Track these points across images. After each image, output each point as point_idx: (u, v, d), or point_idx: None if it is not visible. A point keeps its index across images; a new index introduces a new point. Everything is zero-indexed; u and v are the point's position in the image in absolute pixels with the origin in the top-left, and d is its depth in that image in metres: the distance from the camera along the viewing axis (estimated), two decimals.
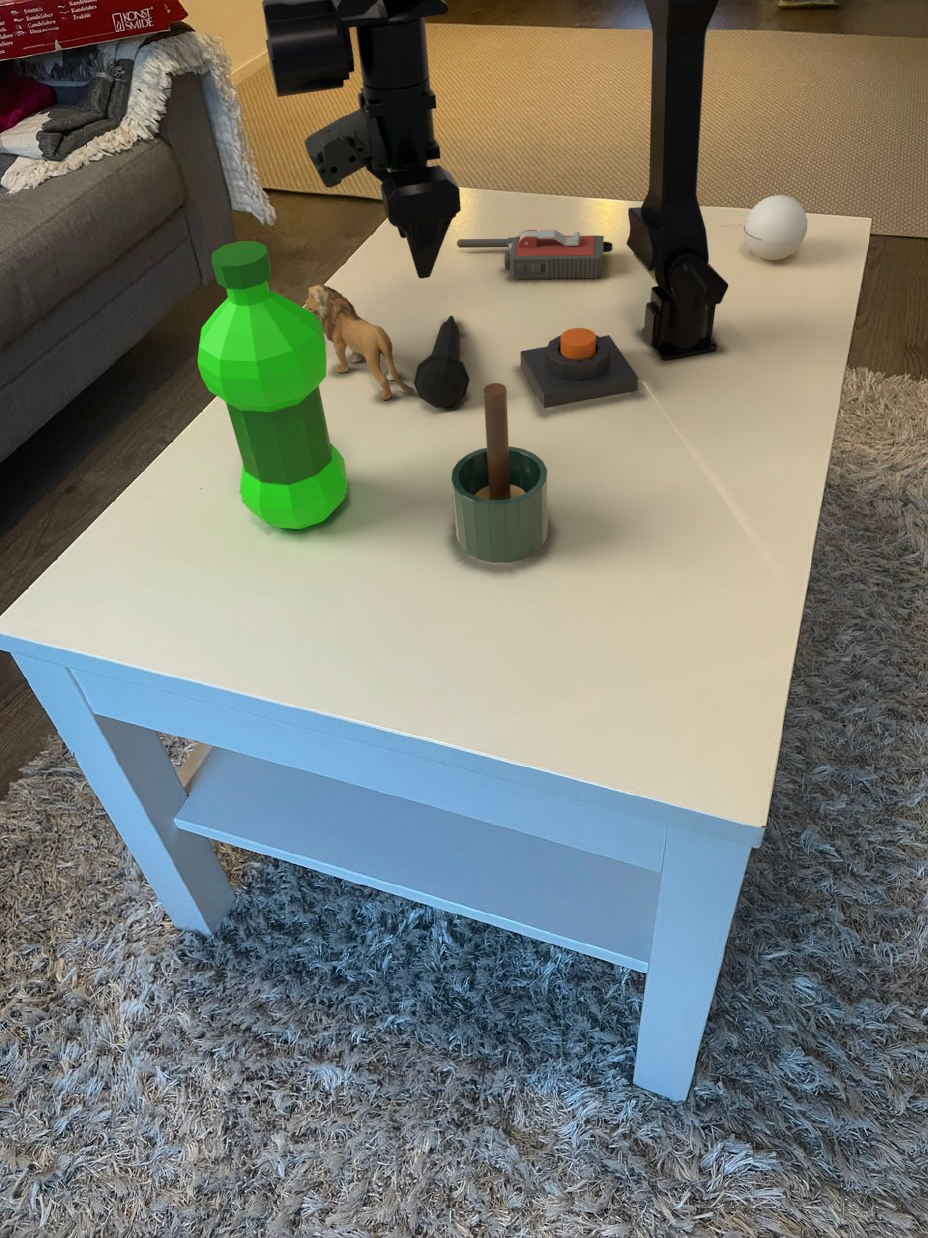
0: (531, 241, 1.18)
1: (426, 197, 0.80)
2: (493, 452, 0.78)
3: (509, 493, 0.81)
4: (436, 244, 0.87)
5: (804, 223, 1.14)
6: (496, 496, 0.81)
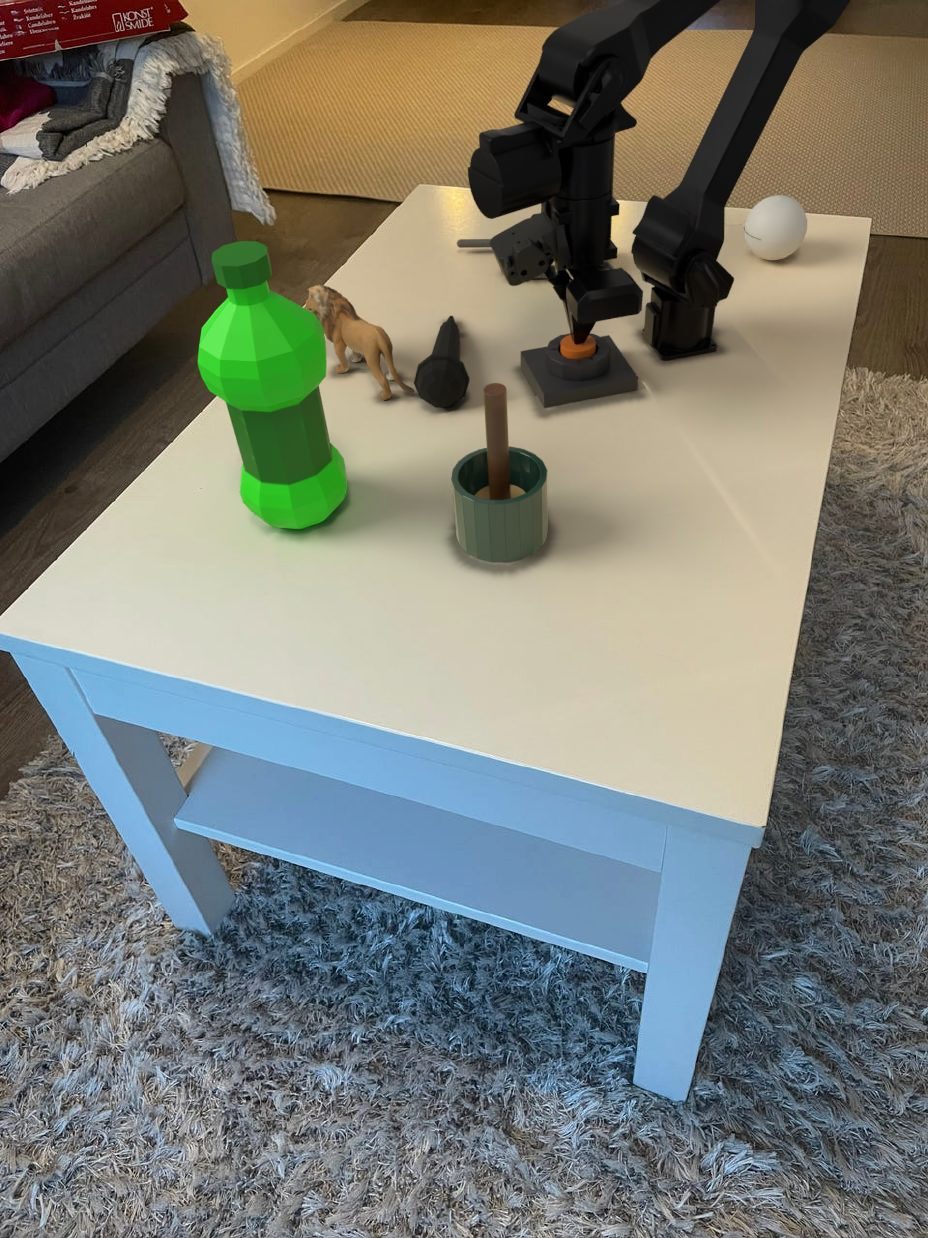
0: None
1: (614, 300, 0.86)
2: (493, 452, 0.78)
3: (509, 493, 0.81)
4: None
5: (804, 223, 1.14)
6: (496, 496, 0.81)
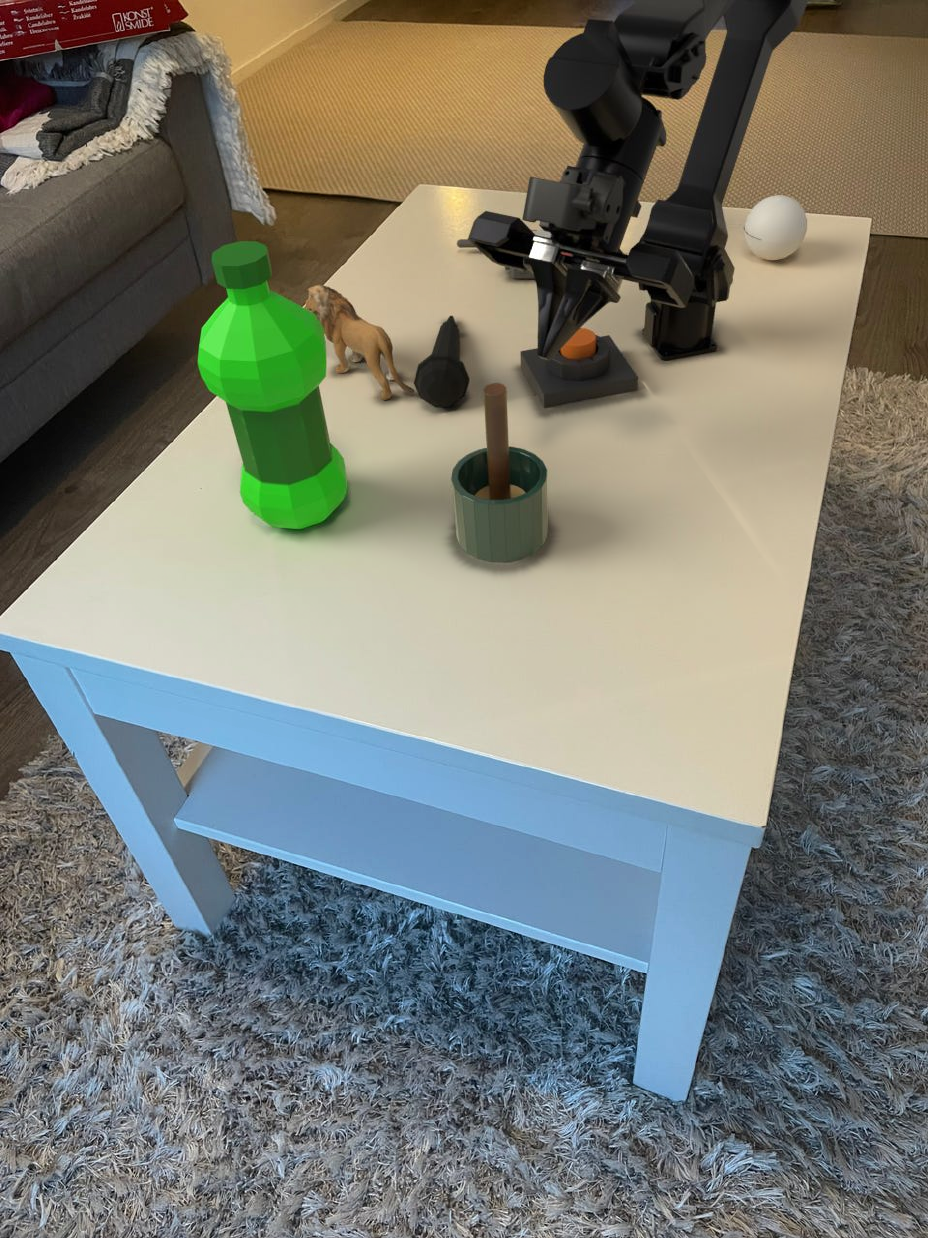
0: None
1: (686, 275, 0.76)
2: (493, 452, 0.78)
3: (509, 493, 0.81)
4: (576, 327, 0.81)
5: (804, 223, 1.14)
6: (496, 496, 0.81)
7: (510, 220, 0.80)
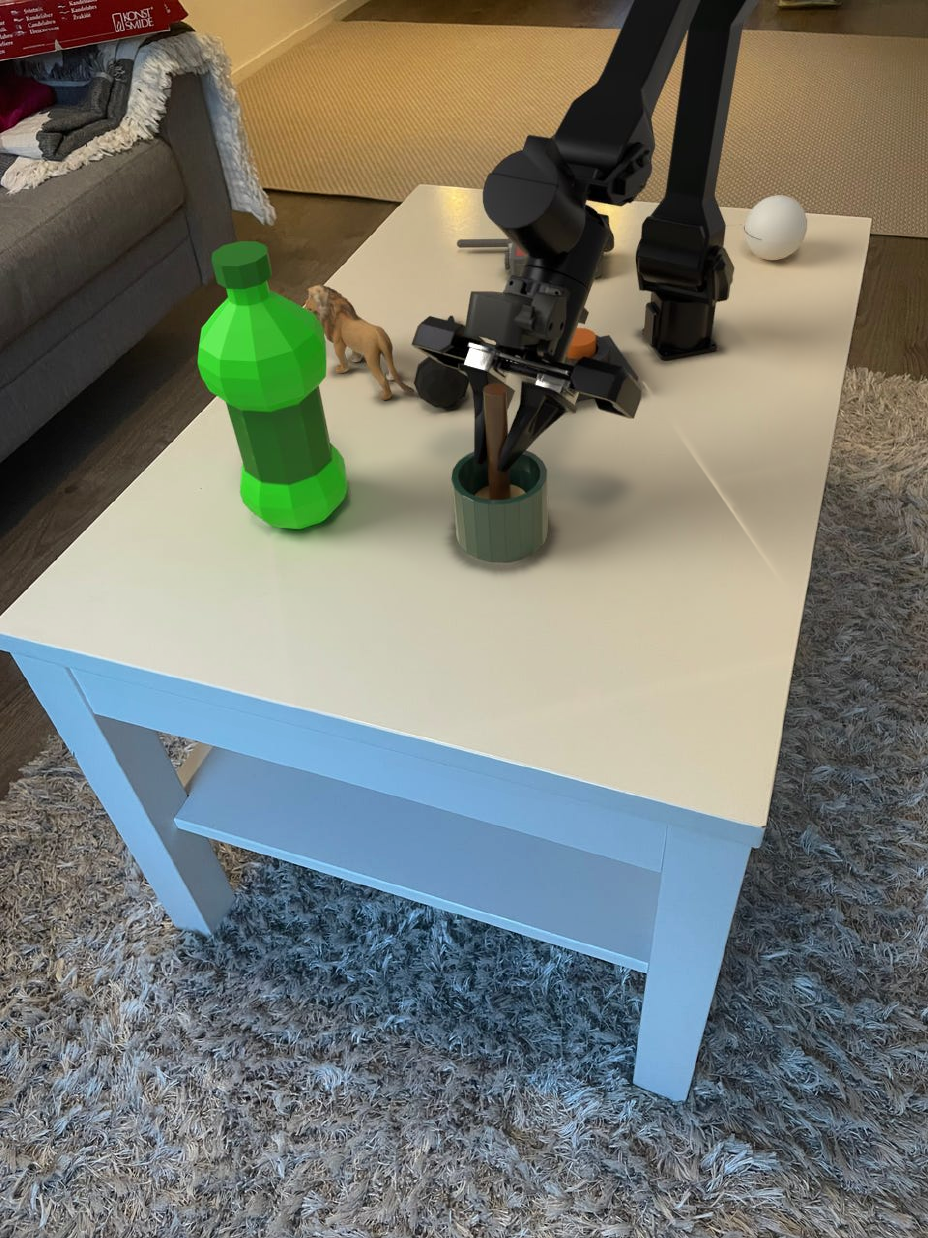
0: None
1: (633, 389, 0.74)
2: (493, 452, 0.78)
3: (509, 493, 0.81)
4: (533, 438, 0.78)
5: (804, 223, 1.14)
6: (496, 496, 0.81)
7: (454, 327, 0.78)
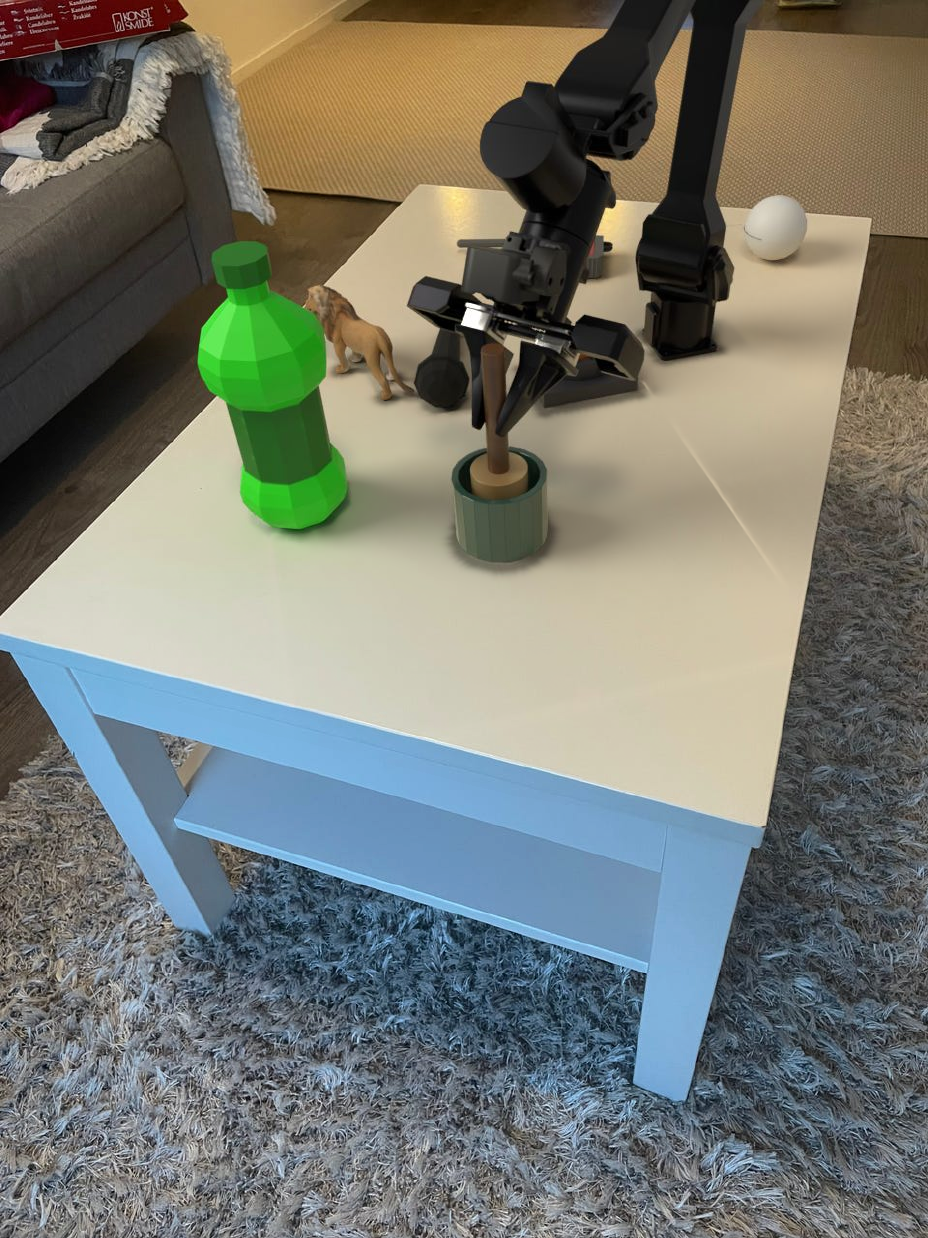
0: None
1: (636, 348, 0.71)
2: (491, 416, 0.75)
3: (508, 460, 0.79)
4: (532, 402, 0.76)
5: (804, 223, 1.14)
6: (494, 463, 0.79)
7: (451, 287, 0.75)
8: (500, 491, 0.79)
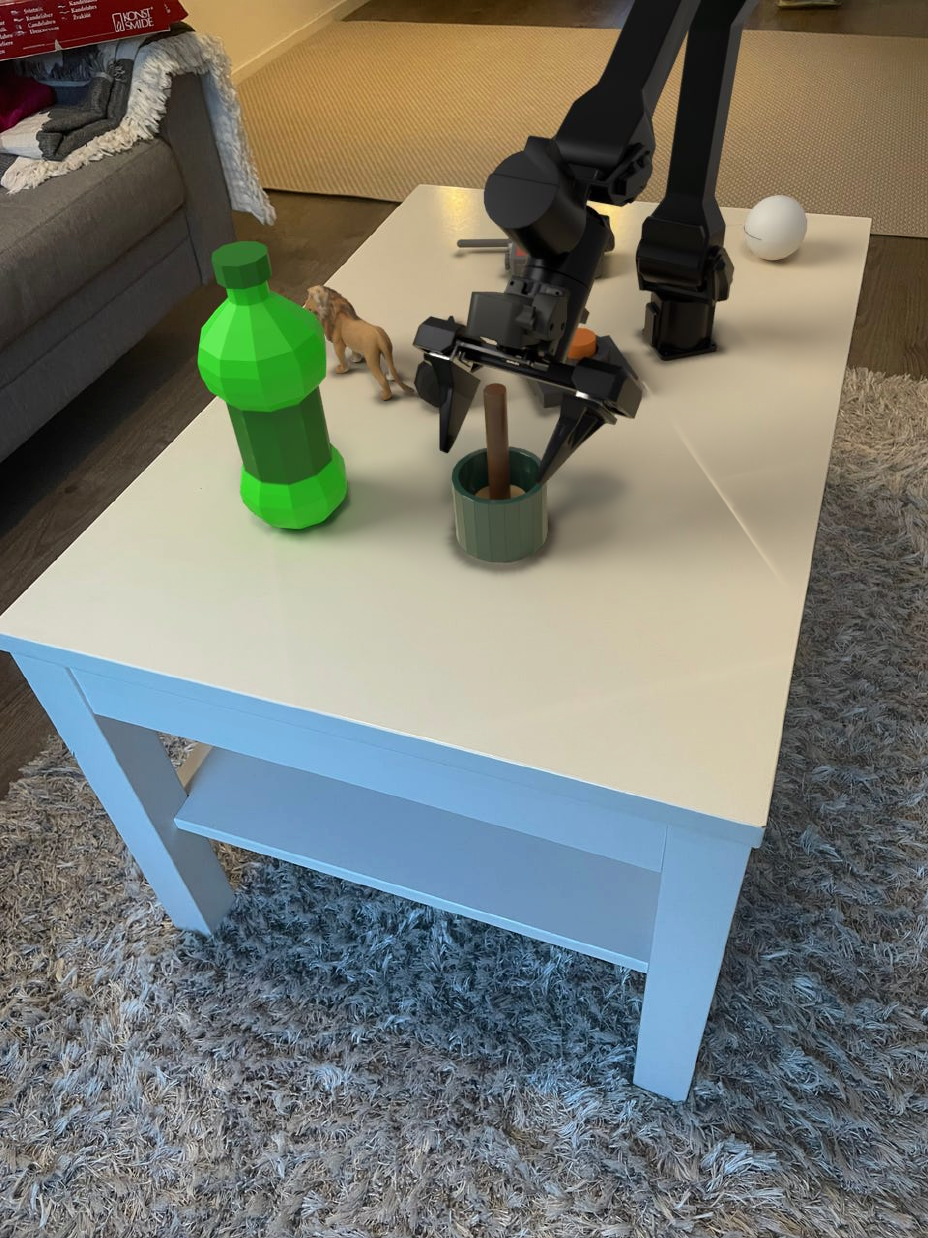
0: None
1: (634, 389, 0.74)
2: (493, 452, 0.78)
3: (509, 493, 0.81)
4: (571, 450, 0.77)
5: (804, 223, 1.14)
6: (496, 496, 0.81)
7: (455, 328, 0.78)
8: None
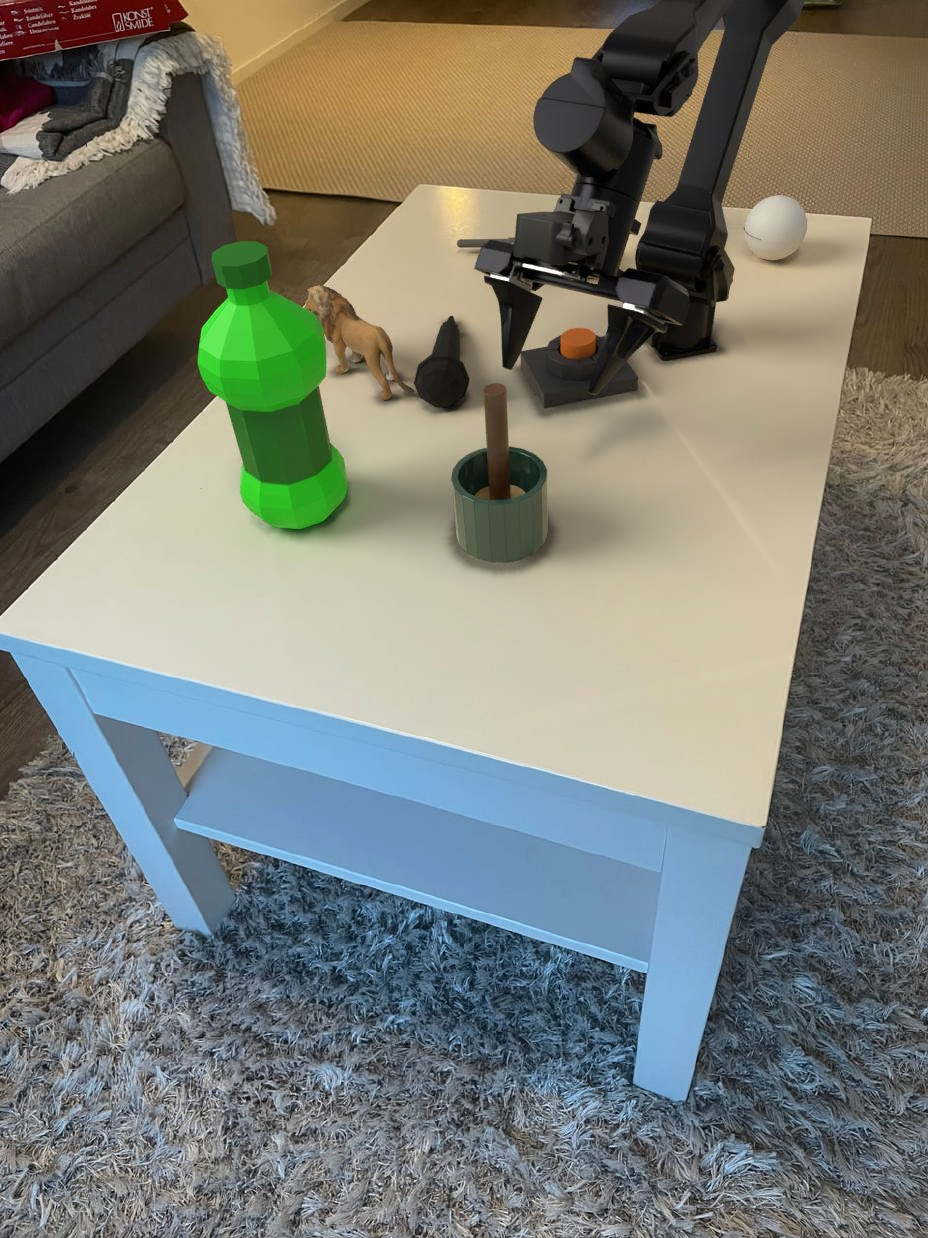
0: None
1: (678, 296, 0.77)
2: (493, 452, 0.78)
3: (509, 493, 0.81)
4: (623, 360, 0.81)
5: (804, 223, 1.14)
6: (496, 496, 0.81)
7: (511, 249, 0.82)
8: None
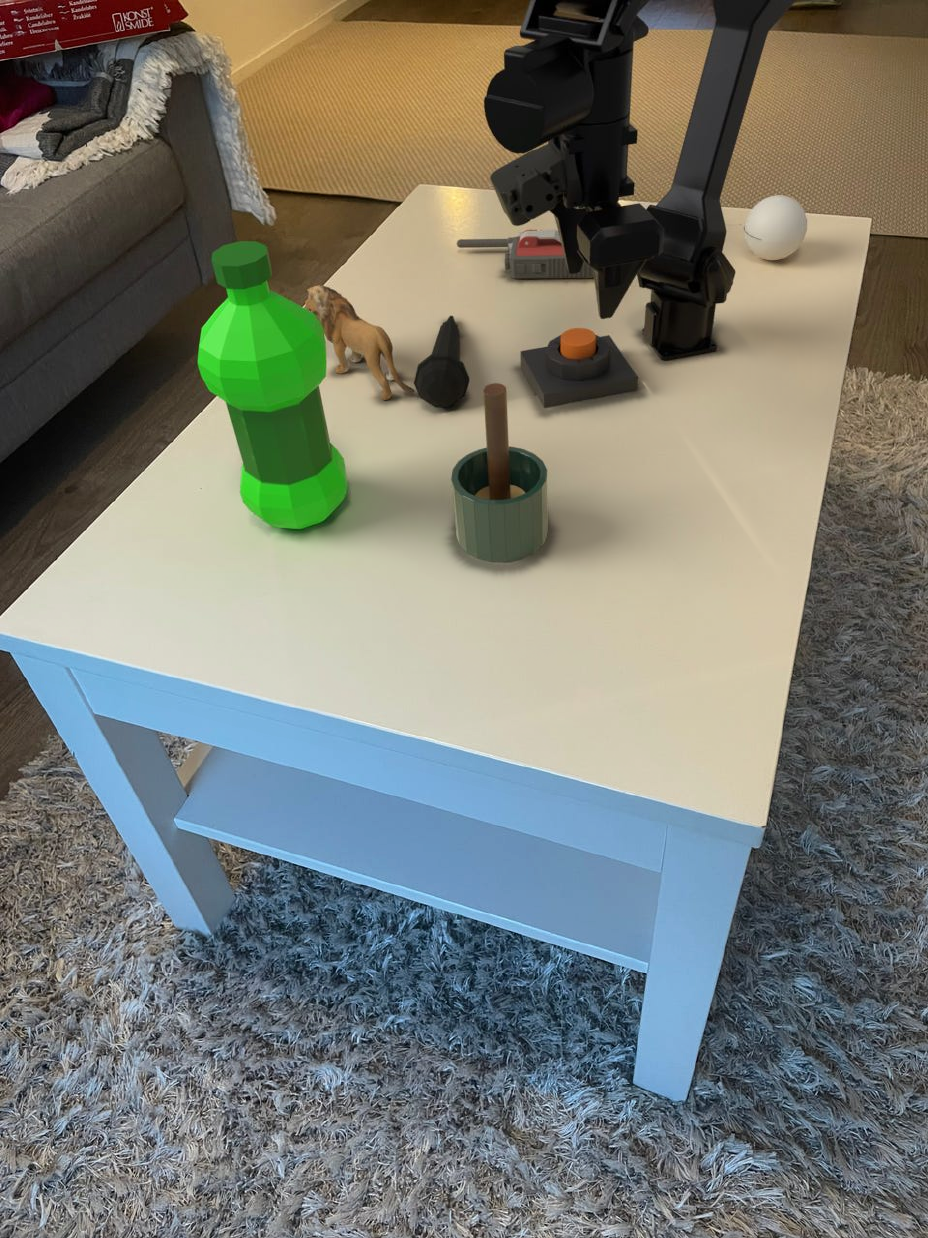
0: (531, 241, 1.18)
1: (631, 238, 0.76)
2: (493, 452, 0.78)
3: (509, 493, 0.81)
4: (625, 285, 0.82)
5: (804, 223, 1.14)
6: (496, 496, 0.81)
7: None
8: None
